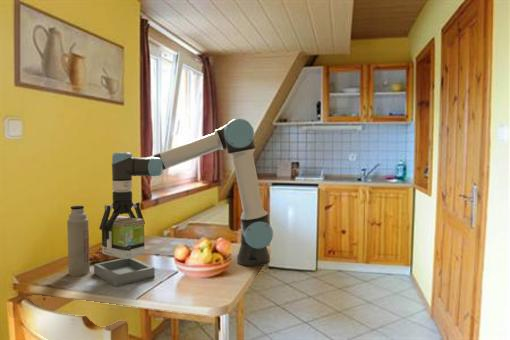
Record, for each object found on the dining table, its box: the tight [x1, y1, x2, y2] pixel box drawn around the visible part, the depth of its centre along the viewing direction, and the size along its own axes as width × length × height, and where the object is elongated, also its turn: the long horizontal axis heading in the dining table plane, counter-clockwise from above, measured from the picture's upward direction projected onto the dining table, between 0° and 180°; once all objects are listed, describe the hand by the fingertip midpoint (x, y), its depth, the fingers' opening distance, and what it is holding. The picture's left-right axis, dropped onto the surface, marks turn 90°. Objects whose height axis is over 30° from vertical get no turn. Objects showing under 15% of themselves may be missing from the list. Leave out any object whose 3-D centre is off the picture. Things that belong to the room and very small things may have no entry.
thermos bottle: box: [66, 205, 91, 277], centre depth 164 cm, size 8×8×28 cm
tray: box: [93, 257, 156, 288], centre depth 161 cm, size 21×16×4 cm
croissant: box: [89, 246, 120, 264], centre depth 185 cm, size 21×10×8 cm, turn 144°
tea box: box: [101, 215, 145, 259], centre depth 160 cm, size 15×10×15 cm
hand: (123, 244), depth 161 cm, fingers closed on tea box, 11 cm apart
